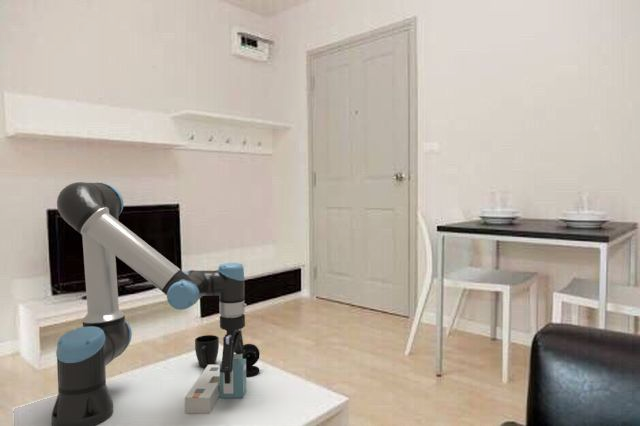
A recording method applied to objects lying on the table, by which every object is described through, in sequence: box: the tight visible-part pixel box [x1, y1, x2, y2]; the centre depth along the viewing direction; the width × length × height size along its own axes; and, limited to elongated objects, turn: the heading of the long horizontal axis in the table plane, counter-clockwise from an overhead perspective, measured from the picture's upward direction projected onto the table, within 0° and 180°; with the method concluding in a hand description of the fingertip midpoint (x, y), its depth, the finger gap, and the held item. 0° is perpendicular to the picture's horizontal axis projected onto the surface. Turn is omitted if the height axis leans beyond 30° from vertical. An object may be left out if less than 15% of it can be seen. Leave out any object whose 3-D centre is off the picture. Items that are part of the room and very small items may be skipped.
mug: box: [194, 334, 220, 369], centre depth 160 cm, size 8×12×10 cm
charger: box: [212, 358, 247, 399], centre depth 138 cm, size 10×5×10 cm, turn 88°
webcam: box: [241, 343, 260, 378], centre depth 154 cm, size 8×8×10 cm
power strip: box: [184, 364, 220, 414], centre depth 142 cm, size 7×32×5 cm, turn 178°
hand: (233, 383), depth 138 cm, fingers open, 13 cm apart
